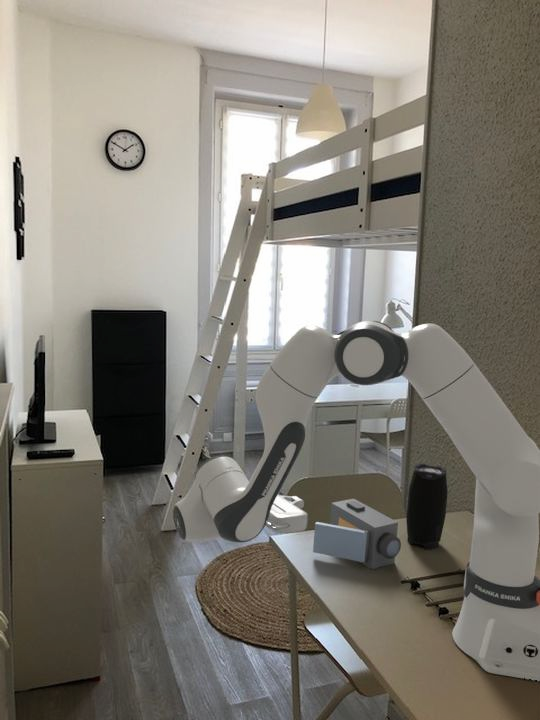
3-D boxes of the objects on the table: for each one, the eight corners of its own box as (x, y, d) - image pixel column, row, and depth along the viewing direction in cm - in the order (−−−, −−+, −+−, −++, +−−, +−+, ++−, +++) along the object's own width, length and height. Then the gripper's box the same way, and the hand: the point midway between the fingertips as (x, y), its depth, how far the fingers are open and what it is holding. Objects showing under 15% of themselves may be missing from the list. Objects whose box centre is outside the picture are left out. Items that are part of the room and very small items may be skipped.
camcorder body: (402, 568, 140) (406, 523, 138) (379, 574, 136) (383, 529, 134) (350, 535, 155) (353, 495, 154) (328, 541, 152) (331, 499, 150)
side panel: (367, 561, 139) (370, 531, 138) (366, 563, 138) (369, 533, 137) (314, 550, 143) (316, 521, 142) (313, 552, 142) (315, 523, 141)
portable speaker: (399, 535, 157) (406, 462, 155) (434, 535, 159) (441, 462, 156) (411, 550, 149) (419, 473, 146) (447, 550, 150) (455, 473, 148)
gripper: (273, 515, 120) (329, 505, 128) (225, 481, 137) (277, 473, 145) (271, 545, 121) (327, 533, 129) (223, 507, 138) (275, 499, 146)
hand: (300, 501), depth 137 cm, fingers closed
